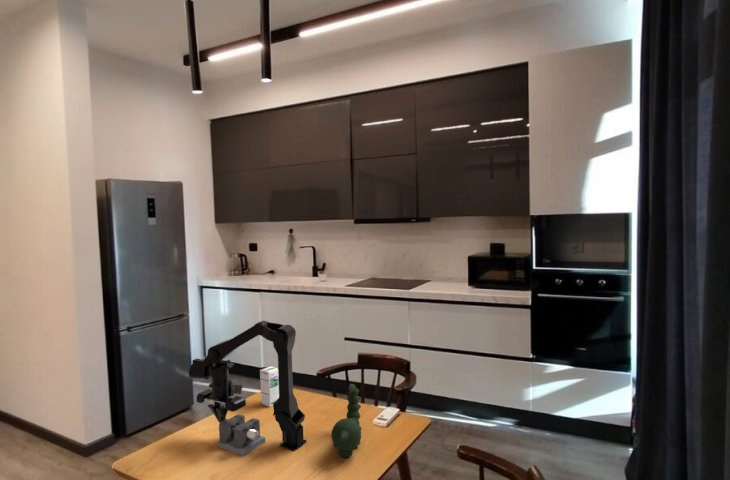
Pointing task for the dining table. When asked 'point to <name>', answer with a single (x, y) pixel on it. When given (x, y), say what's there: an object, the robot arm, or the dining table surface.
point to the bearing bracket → (239, 435)
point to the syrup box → (269, 385)
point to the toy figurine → (348, 426)
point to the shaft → (249, 433)
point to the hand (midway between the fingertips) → (221, 423)
